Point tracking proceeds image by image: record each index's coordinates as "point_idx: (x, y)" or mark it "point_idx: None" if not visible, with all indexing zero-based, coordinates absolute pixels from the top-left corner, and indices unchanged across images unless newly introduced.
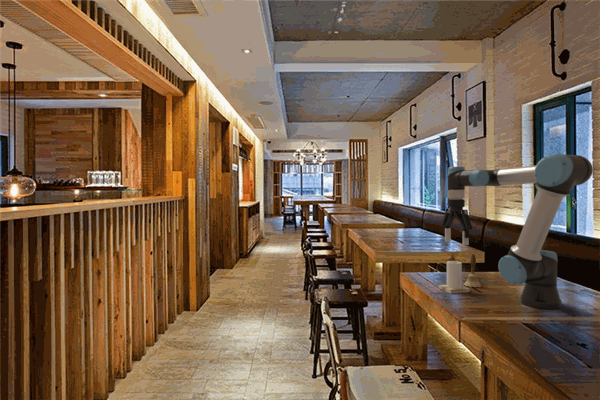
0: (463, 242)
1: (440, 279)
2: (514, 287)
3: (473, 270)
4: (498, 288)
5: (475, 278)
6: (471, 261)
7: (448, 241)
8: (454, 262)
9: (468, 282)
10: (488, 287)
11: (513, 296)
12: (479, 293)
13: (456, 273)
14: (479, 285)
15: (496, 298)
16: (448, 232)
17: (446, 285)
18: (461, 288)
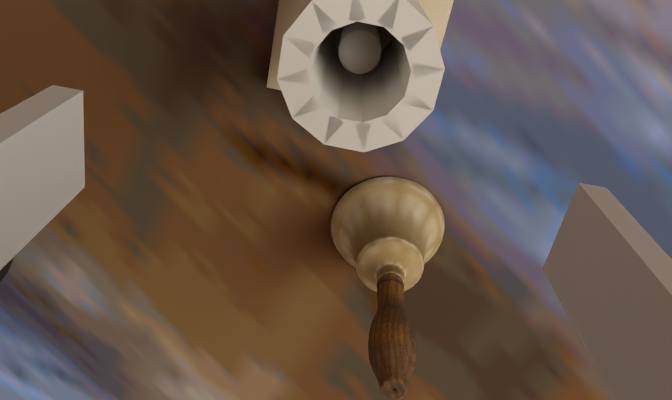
0: (28, 99)
1: (646, 181)
2: (243, 379)
3: (379, 287)
4: (262, 299)
5: (355, 251)
6: (390, 323)
7: (560, 229)
8: (390, 108)
9: (388, 204)
10: (306, 273)
11: (87, 227)
12: (214, 109)
13: (297, 15)
14: (337, 240)
15: None
16: (630, 340)
17: (428, 7)
18: None
